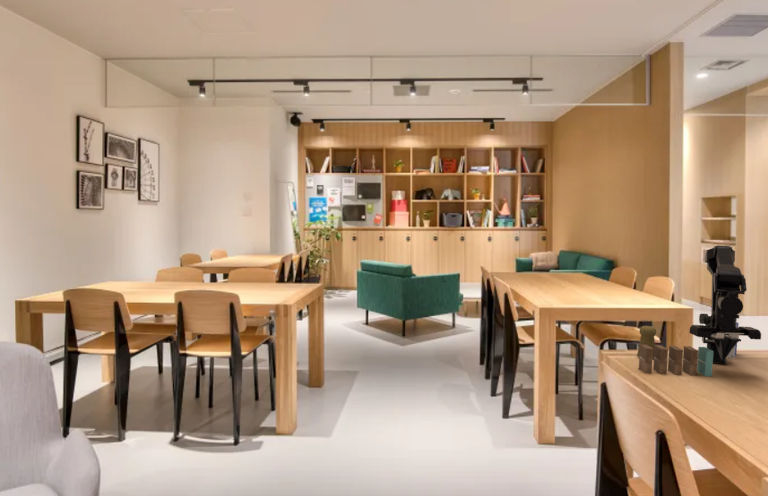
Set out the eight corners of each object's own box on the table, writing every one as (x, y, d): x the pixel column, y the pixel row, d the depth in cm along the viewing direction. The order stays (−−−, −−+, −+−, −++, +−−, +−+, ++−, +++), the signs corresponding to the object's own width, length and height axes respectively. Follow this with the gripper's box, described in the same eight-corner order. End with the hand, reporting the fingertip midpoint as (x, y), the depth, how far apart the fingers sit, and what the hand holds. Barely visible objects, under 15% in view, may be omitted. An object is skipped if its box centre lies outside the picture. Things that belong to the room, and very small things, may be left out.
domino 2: (659, 369, 169) (661, 345, 169) (666, 374, 164) (668, 349, 164) (653, 369, 170) (654, 345, 169) (659, 374, 165) (661, 349, 164)
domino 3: (674, 370, 169) (675, 345, 168) (681, 375, 164) (683, 350, 163) (667, 369, 169) (669, 345, 169) (674, 374, 164) (676, 349, 164)
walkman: (727, 352, 191) (729, 320, 190) (736, 354, 190) (738, 321, 189) (724, 357, 185) (726, 323, 184) (733, 358, 184) (736, 325, 183)
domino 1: (645, 368, 170) (646, 344, 169) (651, 373, 165) (653, 348, 164) (638, 368, 170) (639, 344, 169) (644, 373, 165) (646, 348, 164)
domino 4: (689, 370, 169) (690, 346, 168) (696, 375, 164) (698, 350, 163) (682, 370, 169) (683, 346, 168) (689, 375, 164) (691, 350, 163)
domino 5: (703, 371, 168) (705, 347, 168) (711, 376, 163) (713, 351, 163) (696, 371, 168) (698, 346, 168) (704, 376, 163) (706, 350, 163)
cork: (645, 360, 180) (646, 328, 179) (632, 355, 186) (634, 324, 185) (660, 359, 181) (661, 328, 180) (647, 354, 187) (649, 324, 186)
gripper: (742, 306, 171) (739, 353, 172) (682, 304, 173) (679, 350, 174) (764, 312, 160) (760, 363, 161) (700, 310, 161) (696, 360, 163)
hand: (722, 358), depth 165 cm, fingers closed
